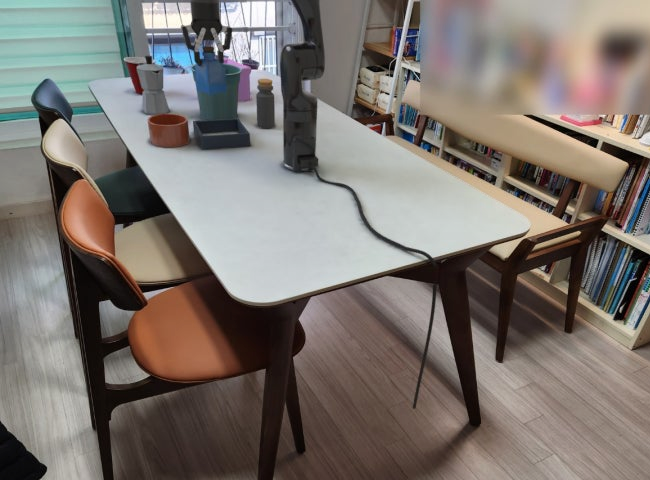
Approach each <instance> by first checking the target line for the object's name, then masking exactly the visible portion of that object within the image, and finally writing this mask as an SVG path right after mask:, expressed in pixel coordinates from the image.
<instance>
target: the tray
mask: <svg viewBox="0 0 650 480" xmlns="http://www.w3.org/2000/svg"><path fill="white" fill-rule="evenodd" d="M192 127H193V128H192V129H193V134H194V137H195V138H196V140H197V142H198V144H199V147H201V149H202V150H215V149H216V150H217V149H229V148H243V147H251V133H250V131H249V130H248V129H247V127H246V126H245V124H244V123H242V121H241V120H240V118H238V117H237V118H236V119H219V120H206V119H201V120H192ZM232 132H233V133H232ZM234 132H238V133H234ZM215 133H222V134H215ZM223 133H224V134H223ZM203 134H208V135H203Z"/></svg>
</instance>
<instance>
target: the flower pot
mask: <svg viewBox="0 0 650 480" xmlns="http://www.w3.org/2000/svg"><path fill="white" fill-rule="evenodd" d="M222 65H223V67H224V68H225V70H226V86H227V92H221V93H216V94H211V95H209V94H206V93H204V92H201V91H199V90H196V94H197V101H198V106H199V112H200V116H201V118H202V119H203V120H219V119H238V105H239V101H238V89H239V83H240V73H241V72H242V69H241V68H239V67H237V66H234V65H230V64H224V63H222ZM190 66H191V67H189V69H190V71H191V73H192V78H193V81H194V83H195V85H196V80H195V69H194V67H195V66H196V63H194V64H192V65H190Z"/></svg>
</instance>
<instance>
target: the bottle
mask: <svg viewBox="0 0 650 480" xmlns="http://www.w3.org/2000/svg"><path fill="white" fill-rule="evenodd" d="M257 83H258V85H257V86H256V89H257V90H258V92H256V94H255V95H256V97H255V98H256V99H255V100H256V123H257V125H256V126H257V128H259V129H266V130H267V129H273V128H275V126H276V114H275V112H276V111H275V108H276V107H275V106H276V105H275V103H276V102H275V94H274V93H273V91H274V85H273V80H272V79H270V78H258V79H257Z"/></svg>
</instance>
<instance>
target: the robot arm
mask: <svg viewBox="0 0 650 480" xmlns="http://www.w3.org/2000/svg"><path fill="white" fill-rule="evenodd" d="M189 1H190V2H189V4H190V12H191V22H190V24H187V25H184V24H181V25H180V29H181V33H182V37H183V39H184V40H183V41H184V43H185V47H186V48H187V49H188V50H189V51H192V52H193V61H194V64H197V65H198V66H201V61H200V59H201V53H200V49H201V45H202V43H203V41H213V42H214V43H215V45H216V48H217V50H216V52H217V53H216V54H217V60H219V62H220V63H221V64H222V63H224V55H225V54H224V52H225V51H229V50H230V49H231V44H232V43H231V42H232V35H233V28H232V27H231V26H230V25H227V26H226V25H223V24H222V21H221V10H220V9H221V8H220V0H189ZM289 1H290V3H291V4H292V6H293V9H294V10H295V12H296V13H297V15H298V18H299V20H300V24H301V29H302V36H303V37H302V38H303V42H298V43H297V42H293V43H286V44H284V45H283V46H282V48H281V50H280V54H279V55H280V56H279V72H280V73H279V74H280V75H279V76H280V92H281V97H282V104H283V109H282V110H283V111H282V114H283V115H282V118H283V119H282V120H283V121H282V124H283V125H282V131H283V133H282V134H283V135H282V137H283V138H282V140H283V141H282V142H283V143H282V144H283V150H282V151H283V152H282V153H283V161H282V165H283V167H284V168H285V169H287V170H290V171H293V172H294V173H299V172H311V171H313V172H314V174H315V176H316V178H317V180H319V181H320V182H322V183H325V184H329V185H333V186H338V187H342V188H345V189H347V190H349V192H351V193H352V195H353V197H354V200H355V202H356V205H357V207H358V212H359V215H360V217H361V219H362V221H363V223H364V225H365V226H366V227H367V229H368V230H369V231H370V232H371V233H372V234H373V235H375V236H376V237H378V239H381V240H382V241H385V242H386V243H388V244H391V245H393V246H395V247H397V248H400V249H402V250H405V251H407V252H411V253H415V254H419V255H422V256H424V257H425V258H427V259H428V260H429V261H430V263H431V264H432V266H434V267H437V263H436V260H435V259H434V258H433V257H432V256H431V255H430V254H429V253H427V252H426V251H424V250H420V249H418V248H414V247H413V248H412V247H408V246H405V245H403V244H402V243H399V242H397V241H394V240H393V239H390V238H389V237H386V236H384V235H382V234H381V233H380V232H379V231H377V230H375V228H373V227H372V226H371V225H370V223H369V221H368V220H367V218H366V216H365V214H364V212H363V208H362V207H363V206H362V204H361V201H360V199H359V197H358V195H357V193H356V191H355V190H354V189H353V188H352V187H351V186H349V185H348V184H346V183H341V182H334V181H329V180H326V179H324V178H323V177H321V176H320V174H319V171H318V170H317V168H316V167H319V157H318V156H317V129H318V128H317V123H318V97H317V95H315V94H314V93H312V92H309V91H306V90H303V82H306V81H315V80H319V79H321V78H322V77H323V76H324V73H325V69H326V50H325V41H324V33H323V23H322V11H321V7H322V6H321V0H289ZM191 30H193V32H194V33H195V37H194V42H193V44H192V43H191V39H190V35H191ZM222 31H223V34H224V42H223V44H222V42H221V40H220V38H219V35H220V34H221V32H222ZM437 284H438V283H435V284H432V299H431V308H430V315H429V316H430V317H429V322H428V329H427V334H426V339H425V340H426V341H425V345H424V349H423V355H422V359H421V364H420V368H419V374H418V378H417V381H416V382H417V383H416V387H415V392H414V398H413V402H412V409H413V410H415V409H416V408H417V403H418V398H419V392H420V387H421V382H422V378H423V374H424V369H425V365H426V360H427V355H428V351H429V345H430V341H431V337H432V332H433V331H432V330H433V324H434V319H435V318H434V317H435V311H436V302H437V301H436V300H437V288H438V287H437V286H438V285H437Z"/></svg>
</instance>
